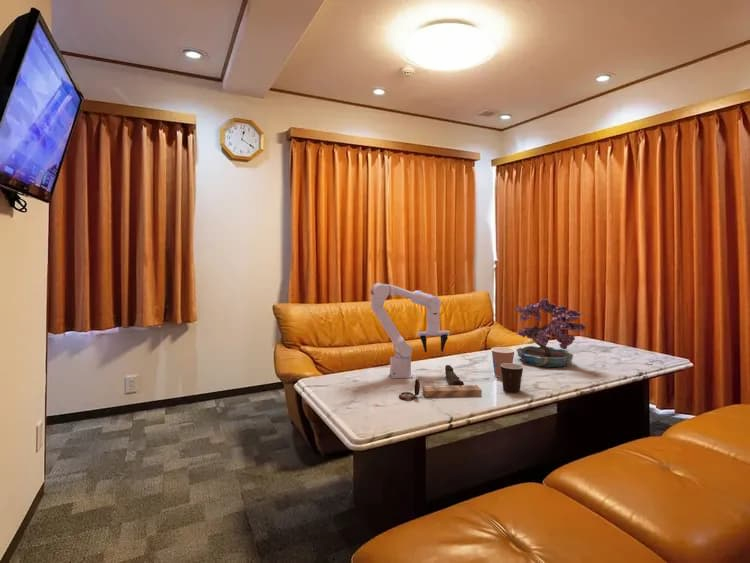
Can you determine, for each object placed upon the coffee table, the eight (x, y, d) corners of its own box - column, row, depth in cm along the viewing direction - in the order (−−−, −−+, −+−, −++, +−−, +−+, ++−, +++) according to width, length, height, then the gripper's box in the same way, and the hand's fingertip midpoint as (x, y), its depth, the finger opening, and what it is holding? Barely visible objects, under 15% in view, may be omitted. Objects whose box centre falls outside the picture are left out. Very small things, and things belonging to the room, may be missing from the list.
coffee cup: (491, 371, 193) (491, 346, 192) (514, 373, 189) (515, 347, 188) (489, 377, 183) (490, 351, 182) (514, 380, 180) (514, 352, 179)
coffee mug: (507, 385, 172) (507, 362, 171) (526, 390, 166) (527, 366, 165) (491, 391, 164) (492, 367, 164) (511, 397, 158) (511, 371, 157)
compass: (397, 395, 161) (397, 377, 160) (417, 394, 161) (417, 376, 161) (400, 402, 153) (400, 383, 152) (421, 402, 153) (421, 382, 153)
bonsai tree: (504, 357, 219) (505, 296, 217) (547, 353, 226) (548, 295, 224) (548, 376, 185) (550, 304, 183) (597, 371, 193) (599, 302, 190)
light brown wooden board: (425, 397, 158) (425, 390, 158) (422, 392, 164) (422, 385, 164) (481, 396, 159) (481, 389, 159) (476, 391, 165) (476, 384, 165)
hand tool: (463, 392, 165) (464, 378, 165) (451, 392, 165) (452, 378, 165) (454, 375, 188) (454, 363, 187) (443, 375, 188) (443, 363, 187)
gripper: (419, 324, 183) (419, 354, 184) (451, 323, 184) (451, 352, 185) (416, 321, 191) (417, 350, 191) (447, 320, 191) (447, 349, 192)
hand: (433, 351), depth 189 cm, fingers open, 7 cm apart
